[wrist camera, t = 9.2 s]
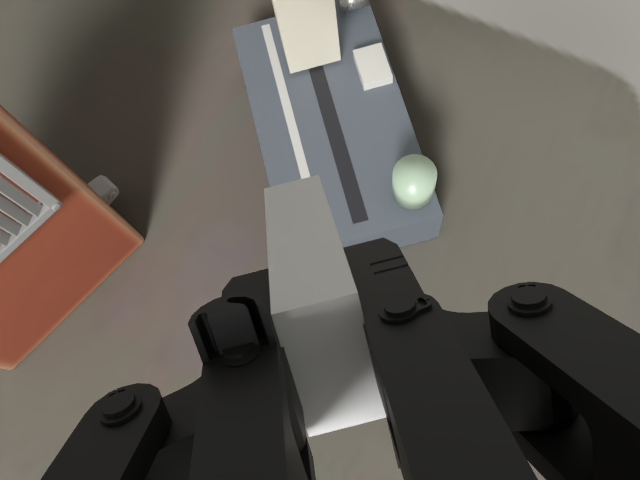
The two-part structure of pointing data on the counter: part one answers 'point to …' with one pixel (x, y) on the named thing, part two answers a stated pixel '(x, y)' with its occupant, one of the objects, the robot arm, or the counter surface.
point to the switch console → (337, 127)
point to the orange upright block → (50, 239)
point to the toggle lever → (351, 5)
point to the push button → (414, 181)
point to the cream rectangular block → (307, 32)
